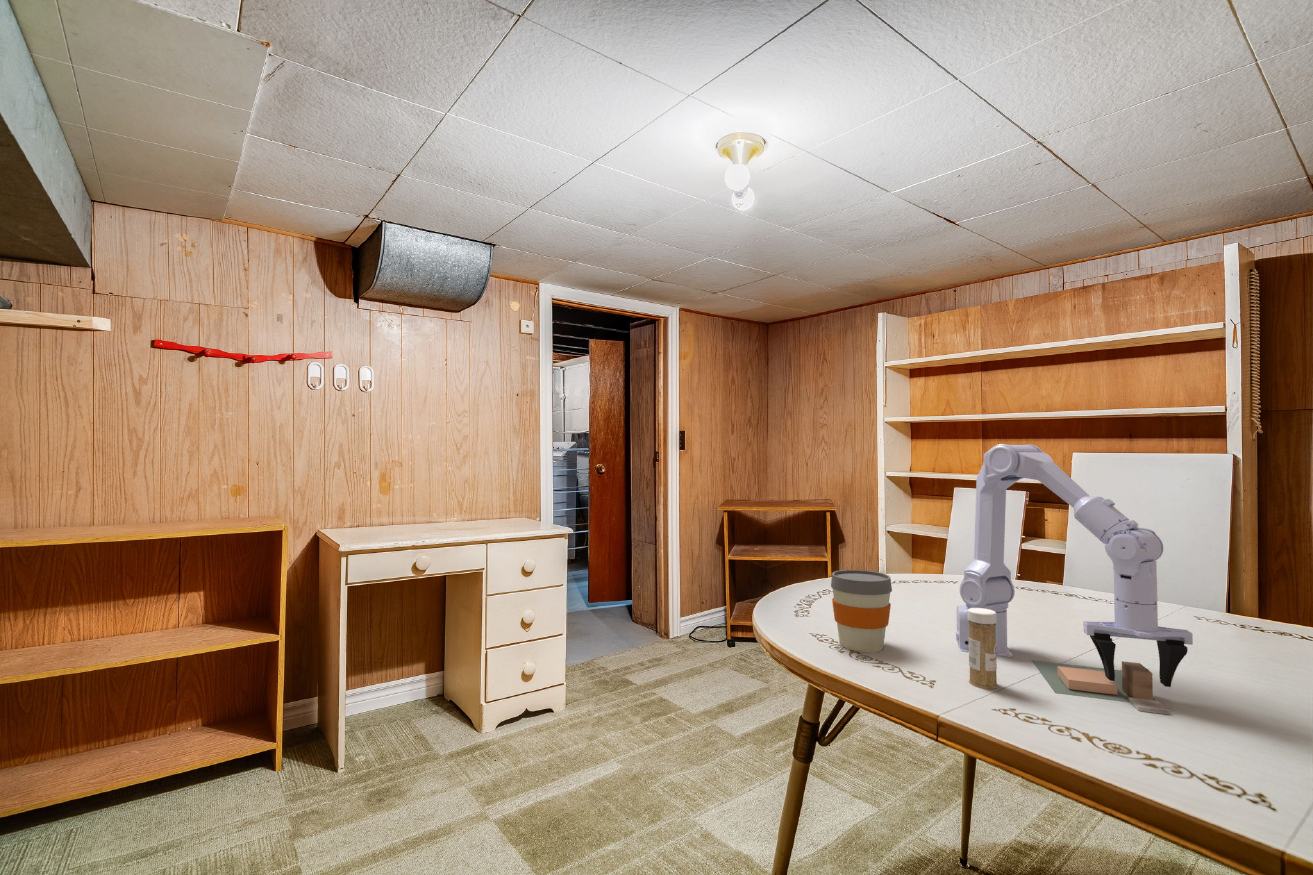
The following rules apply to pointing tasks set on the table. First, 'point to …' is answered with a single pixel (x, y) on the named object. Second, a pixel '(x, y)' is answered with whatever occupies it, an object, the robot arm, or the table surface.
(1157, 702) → the two-tone block stack
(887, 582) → the reusable coffee cup
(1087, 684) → the tile
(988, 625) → the sprinkles bottle
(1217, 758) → the table surface
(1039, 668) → the mat
